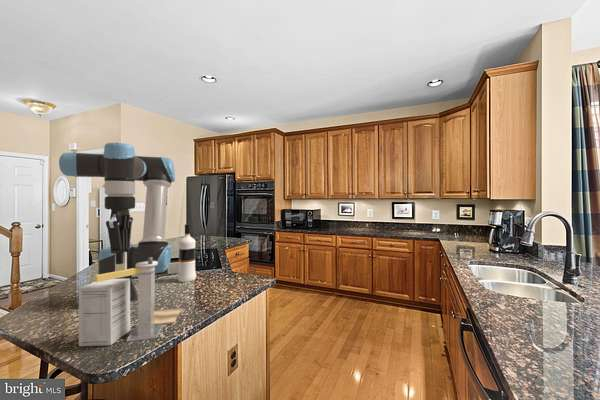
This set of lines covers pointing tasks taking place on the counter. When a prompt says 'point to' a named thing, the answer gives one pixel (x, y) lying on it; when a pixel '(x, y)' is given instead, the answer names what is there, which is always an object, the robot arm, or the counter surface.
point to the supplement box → (104, 312)
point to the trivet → (165, 316)
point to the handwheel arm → (129, 271)
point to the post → (146, 309)
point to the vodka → (187, 257)
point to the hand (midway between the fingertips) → (121, 273)
